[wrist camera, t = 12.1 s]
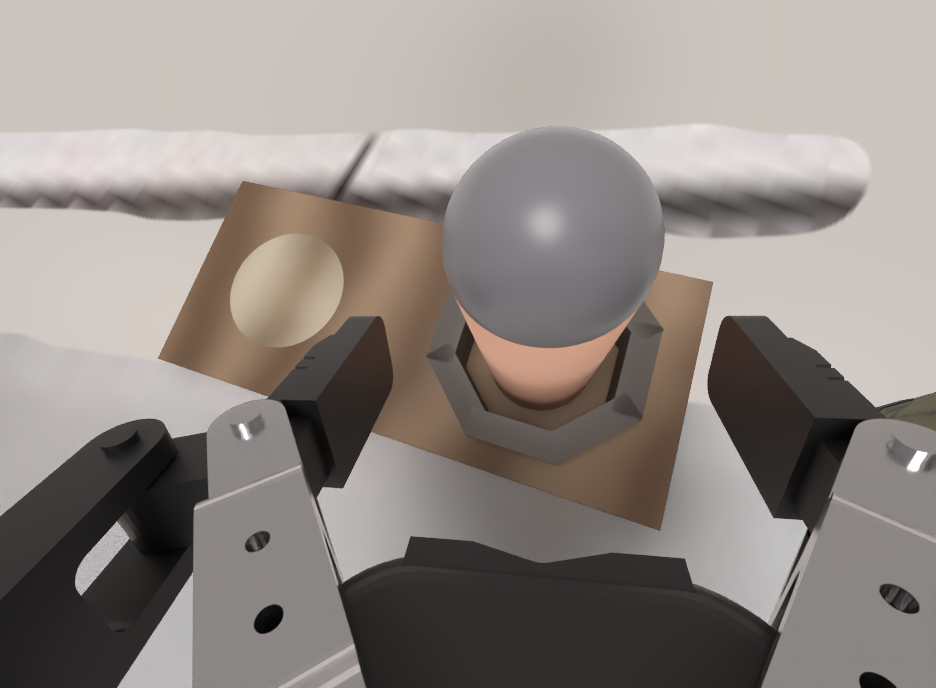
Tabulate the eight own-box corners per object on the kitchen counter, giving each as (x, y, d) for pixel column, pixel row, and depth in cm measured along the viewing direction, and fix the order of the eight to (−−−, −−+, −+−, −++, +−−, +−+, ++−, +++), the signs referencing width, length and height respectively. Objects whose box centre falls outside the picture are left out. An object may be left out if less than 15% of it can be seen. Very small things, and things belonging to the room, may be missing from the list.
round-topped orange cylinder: (477, 393, 22) (379, 271, 8) (506, 302, 23) (464, 52, 9) (577, 424, 21) (667, 344, 7) (603, 326, 22) (726, 85, 8)
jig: (178, 363, 27) (109, 345, 22) (257, 194, 29) (208, 148, 25) (651, 525, 20) (681, 543, 16) (702, 293, 23) (740, 254, 19)
